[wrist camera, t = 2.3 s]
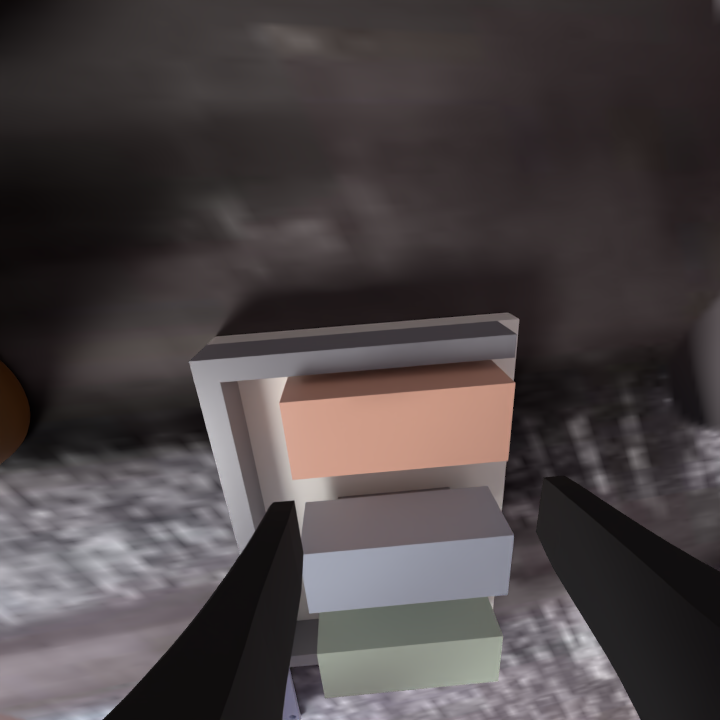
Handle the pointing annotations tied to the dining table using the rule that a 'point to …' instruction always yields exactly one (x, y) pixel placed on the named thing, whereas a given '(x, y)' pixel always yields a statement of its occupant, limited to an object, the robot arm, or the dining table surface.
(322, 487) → the keypad
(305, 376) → the key terracotta
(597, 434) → the dining table surface
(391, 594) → the key slate
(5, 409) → the mug
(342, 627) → the key sage
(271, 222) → the dining table surface
